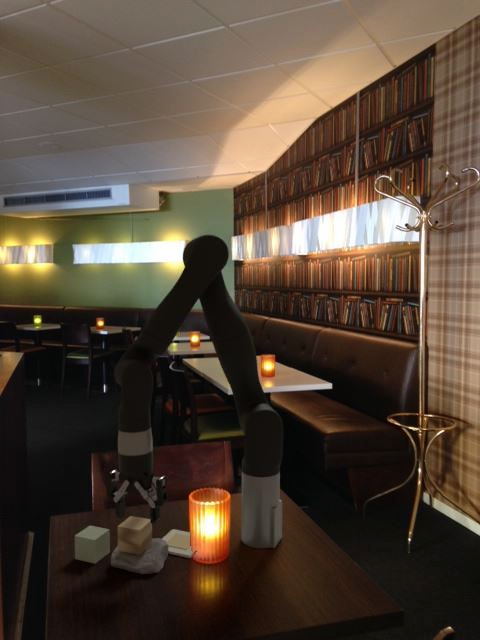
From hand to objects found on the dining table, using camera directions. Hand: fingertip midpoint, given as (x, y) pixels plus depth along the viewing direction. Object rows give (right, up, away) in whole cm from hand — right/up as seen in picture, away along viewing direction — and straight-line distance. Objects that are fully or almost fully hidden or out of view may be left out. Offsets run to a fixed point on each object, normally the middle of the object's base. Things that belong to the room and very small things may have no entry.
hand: (137, 519), depth 117 cm
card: (+9, -9, +9) cm, 15 cm away
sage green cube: (-11, -10, +3) cm, 15 cm away
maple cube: (-1, -6, 0) cm, 6 cm away
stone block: (0, -10, 0) cm, 10 cm away
